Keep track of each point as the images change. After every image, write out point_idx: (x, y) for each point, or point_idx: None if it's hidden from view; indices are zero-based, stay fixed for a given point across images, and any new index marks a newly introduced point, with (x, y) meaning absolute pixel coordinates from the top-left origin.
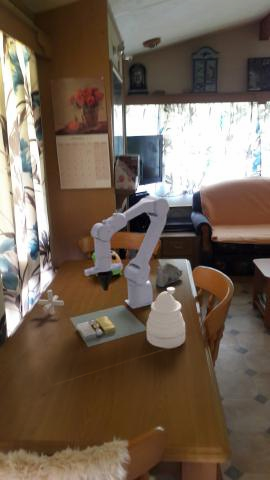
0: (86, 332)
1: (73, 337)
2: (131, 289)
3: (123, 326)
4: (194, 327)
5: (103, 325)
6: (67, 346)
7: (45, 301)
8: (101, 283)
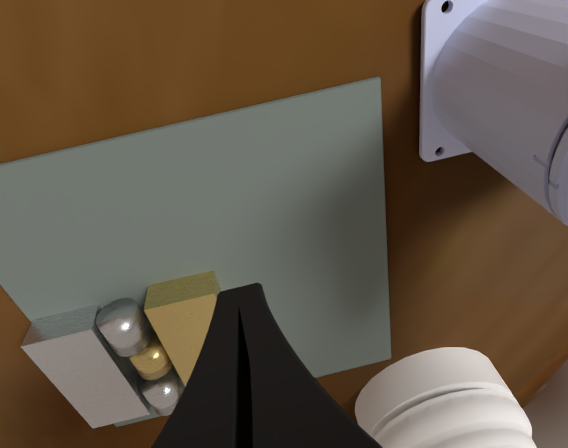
0: (97, 408)
1: (27, 364)
2: (523, 184)
3: (295, 327)
4: (554, 357)
5: (190, 369)
6: (14, 412)
7: None
8: (204, 353)
